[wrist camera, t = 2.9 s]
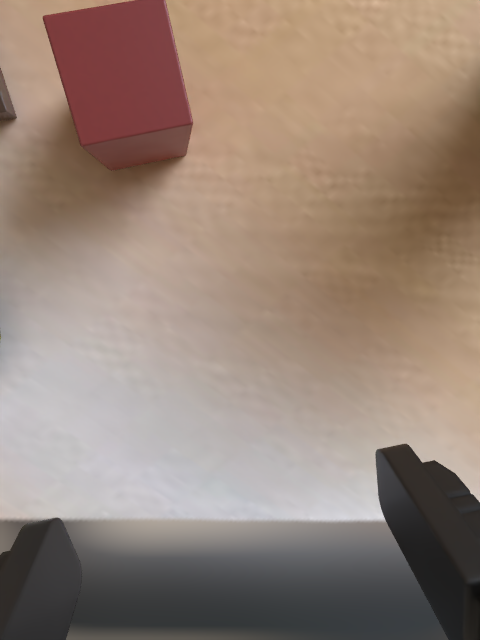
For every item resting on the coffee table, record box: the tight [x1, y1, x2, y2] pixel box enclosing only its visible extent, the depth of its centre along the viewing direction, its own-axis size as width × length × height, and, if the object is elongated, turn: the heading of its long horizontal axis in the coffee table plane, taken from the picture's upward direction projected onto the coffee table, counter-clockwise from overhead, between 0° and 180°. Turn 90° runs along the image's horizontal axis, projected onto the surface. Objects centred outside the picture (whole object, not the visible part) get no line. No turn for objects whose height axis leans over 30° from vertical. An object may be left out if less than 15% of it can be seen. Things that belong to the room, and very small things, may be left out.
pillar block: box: [43, 0, 193, 171], centre depth 22 cm, size 5×5×9 cm
